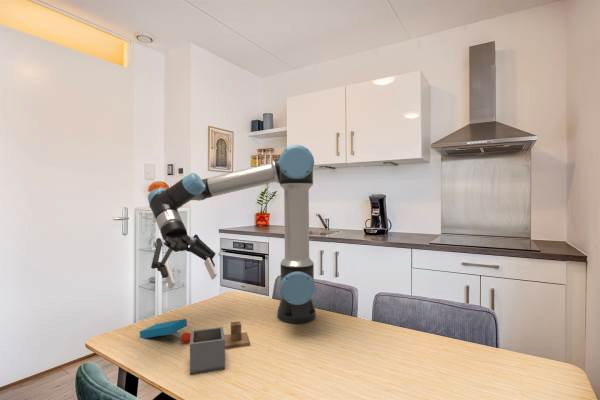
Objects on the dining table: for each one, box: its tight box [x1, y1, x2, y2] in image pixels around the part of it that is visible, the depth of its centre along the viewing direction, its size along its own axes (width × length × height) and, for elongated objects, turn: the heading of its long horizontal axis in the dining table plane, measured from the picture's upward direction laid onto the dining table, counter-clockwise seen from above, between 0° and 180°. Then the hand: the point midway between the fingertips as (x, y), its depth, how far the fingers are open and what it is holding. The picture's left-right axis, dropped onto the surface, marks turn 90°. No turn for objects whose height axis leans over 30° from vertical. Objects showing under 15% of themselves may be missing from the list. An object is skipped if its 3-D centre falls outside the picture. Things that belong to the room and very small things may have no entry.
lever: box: [139, 318, 191, 345], centre depth 103 cm, size 7×7×18 cm
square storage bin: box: [189, 326, 226, 376], centre depth 87 cm, size 9×9×8 cm
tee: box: [224, 320, 251, 350], centre depth 100 cm, size 8×8×6 cm
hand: (194, 281), depth 93 cm, fingers open, 13 cm apart
